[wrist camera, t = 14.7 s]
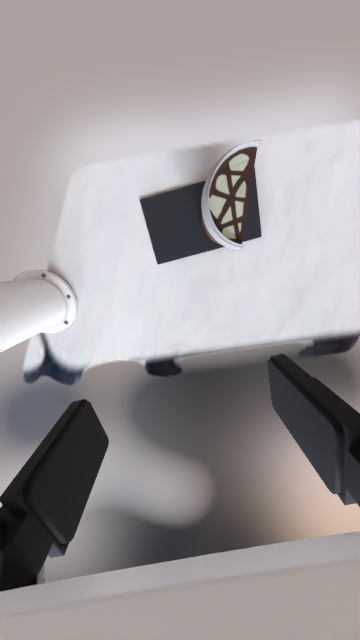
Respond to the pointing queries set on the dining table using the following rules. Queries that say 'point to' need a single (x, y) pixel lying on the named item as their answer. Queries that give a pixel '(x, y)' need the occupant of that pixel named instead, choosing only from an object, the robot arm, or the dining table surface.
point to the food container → (229, 195)
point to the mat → (188, 222)
